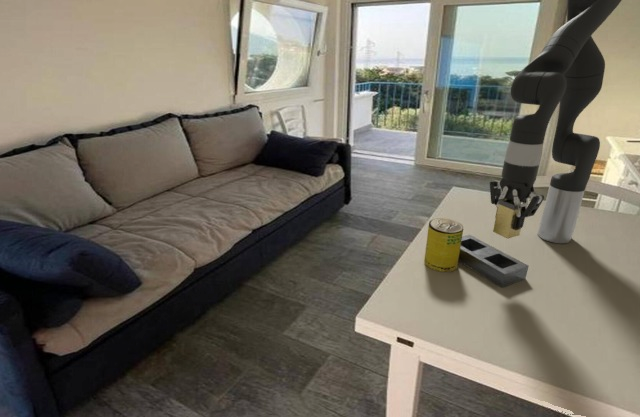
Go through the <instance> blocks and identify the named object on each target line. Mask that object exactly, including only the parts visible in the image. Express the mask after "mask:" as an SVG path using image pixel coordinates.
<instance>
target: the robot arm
mask: <svg viewBox="0 0 640 417" xmlns="http://www.w3.org/2000/svg"><path fill="white" fill-rule="evenodd" d="M621 2H622V0H567V5H566V6H567V7H566V11H567V12H566V22H565V24H563V25H562V26H560V28H558V29H557V30H556V31H555V32H554V33H553V34H552V35H551V36H550V38H549V39H548V41H547V42H546V44H545V45H544V46H543V49H542V50H541V51H540V53H539V55H537V56H536V57H534V59H532V60H531V61H529V63H528V64H527V65H526V66H524V67H523V68H522V69H521V70H520V71H519V72H518V74H517V75H516V76H515V77H514V79H513V81H512V83H511V87H510V97H511V99H512V100H513V101H514V102H516V103H518V104H522V105H523V104H524V105H534V106H538V108H537V110H536V111H535V112H534V113H528V114H527V113H526V114H521V115H517V116H516V117H515V118H514V119H513V122H512V127H511V132H510V137H509V141H508V145H507V147H506V150H505V156H504V161H503V166H502V170H501V179H500V180H499V179H496V180H491V181H490V182H489V191H490V203H491V204H492V205H495V206H496V207H495V208H496V212H495V218H494V219H496V214H497V210H498V205H499V204H498V202H499V199H502V200H505V199H508V200H512V201H513V202H514V204H515V205H517V210H516V216H515V221H514V225H513V229H514V230H519V229H520V228H521V229H522V228H523V227H524V224H525V219H526V218H529V217H532V216H535V214H536V212H538V209H539V208H540V206H541V204H543V201H544V199H545V202H544V206H543V210H542V214H541V219H540V222H539V228H538V230H537V236H538V237H539V238H541V239H542V240H544V241H547V242H550V243H555V244H568V243H570V242H571V240H572V238H573V235H574V231H575V227H576V225H577V221H578V218H579V214H580V208H581V206H582V203H583V199H584V194H585V191H586V189H587V185H588V183H589V180H590V177H591V174H592V171H593V168H594V165H595V162H596V160H597V157H598V154H599V151H600V147H601V141H600V138H599V137H597V136H595V135H590V134H582V133H576V132H574V126H575V122H576V120H577V118H578V117H579V116H580V114H581V113H582V112H583V111H584V110H585V109H586V108H587V107H588V106H589V105H590V104H592V102H593V101H594V100H595V99H596V97H597V96H598V95H599V93H600V91H601V90H602V87H603V83H604V75H605V70H606V61H605V59H604V55H603V54H602V52H601V50H600V48H599V46H598V45H597V43H596V41H595V40H594V38H593V36H592V35H593V34H594V33H595V32H596V31H598V29H599V28H600V26H602V24H604V22H605V21H606V20H607V18H609V17H610V15H611V14H612V13H613V12H614V11H615V9H616V8H617V7H618V6H619V5H620V3H621ZM558 106H559V109H558V116H557V121H556V126H555V130H554V136H553V141H552V146H551V157H552V159H553V161H555V162H556V163H559V164H564V165H569V166H573V167H574V170H573V171H571V172H564V173H563V172H562V173H556V174H554V175H552V177H551V179H550V182H549V187H548V190H547V195H546V198H545V196H544V195H543V194H538V193H537V192H535V189H534V184H535V182H536V181H537V180H536V179H537V177H538V172H539V168H540V164H541V160H542V155H543V149H544V148H543V147H544V141H545V137H546V134H547V129H548V125H549V124H550V121H551V118H552V117H553V114H554V112H555V111H556V109H557V108H558ZM529 197H530V198H529ZM520 202H522V203H521V204H520ZM522 207H523V208H522Z"/></svg>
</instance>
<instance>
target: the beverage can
mask: <svg viewBox="0 0 640 417" xmlns="http://www.w3.org/2000/svg"><path fill="white" fill-rule="evenodd" d="M427 228H428V229H427V235H426V246H425V251H424V252H425V253H424V261H423V262H424V264H425V265H426V267H428V268H429V269H431V270H433V271H435V272H440V273H448V272H453V271H455V270H457V268H458V265H459V264H458V263H459V261H458V259H459V252H460V246H461V240H462V236H463V233H464V225H463V224H462V223H461V222H459V221H457V220H454V219H450V218H443V217H442V218H441V217H440V218H433V219H431V220H430V221H429V223H428V227H427Z"/></svg>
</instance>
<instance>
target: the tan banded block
mask: <svg viewBox="0 0 640 417" xmlns="http://www.w3.org/2000/svg"><path fill="white" fill-rule="evenodd" d="M521 203H522V202H520V204H521ZM498 204H499V205H498V210H497V209H496V212H497V214H496V213H495V216H496V218H494V219H495V221H494V225H493V229H492V230H493V231H492V232H493V233H495V234H496V235H498V236H502V238H505V239H512V238H514V237H515V238H516V237H518V236H520V233H521V230H522V228H520V229H519V230H514V229H513V225H514V221H515V216H516V210H517V205H515V204H514V202H513V201H512V200H508V199H505V200H502V199H499V202H498ZM522 208H523V207H522Z"/></svg>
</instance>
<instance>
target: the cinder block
mask: <svg viewBox="0 0 640 417" xmlns="http://www.w3.org/2000/svg"><path fill="white" fill-rule="evenodd" d="M459 262H460V263H461V264H463V265H465V266H466V267H468V268H469V269H471V270H473V272H475V273H477V274H479V275H480V276H482V277H484V278H486V279H487V280H489V281H490V282H492V283H493V284H495V285H497V286H498V287H500V288H505V287H508V286H510V285H512V284H516V283H519V282H520V281H524V280H526V279H527V274H528V269H529V265H528V264H526V263H524V262H523V261H520V260H519V259H517V258H515V257H513V256H511V255H509V254H507V253H505V252H503V251H501V250H500V249H497V248H495V247H494V246H492V245H490V244H488V243H486V242H485V241H482V240H480V239H479V238H476V237H475V236H473V235H471V234H467V235H462V240H461V246H460V252H459V259H458V263H459Z"/></svg>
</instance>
